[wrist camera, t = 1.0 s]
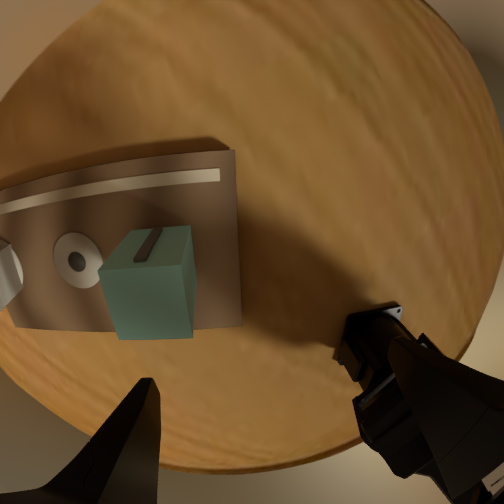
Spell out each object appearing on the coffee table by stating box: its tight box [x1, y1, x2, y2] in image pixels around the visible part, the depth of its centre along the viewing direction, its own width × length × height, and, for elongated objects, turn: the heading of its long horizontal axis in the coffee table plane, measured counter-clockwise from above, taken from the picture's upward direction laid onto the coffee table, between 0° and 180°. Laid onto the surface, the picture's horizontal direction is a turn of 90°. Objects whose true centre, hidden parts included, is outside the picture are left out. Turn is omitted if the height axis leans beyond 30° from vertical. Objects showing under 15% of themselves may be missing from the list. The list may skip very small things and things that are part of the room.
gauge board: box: [0, 150, 243, 332], centre depth 16 cm, size 24×13×5 cm, turn 91°
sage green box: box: [97, 225, 197, 340], centre depth 15 cm, size 4×4×6 cm
